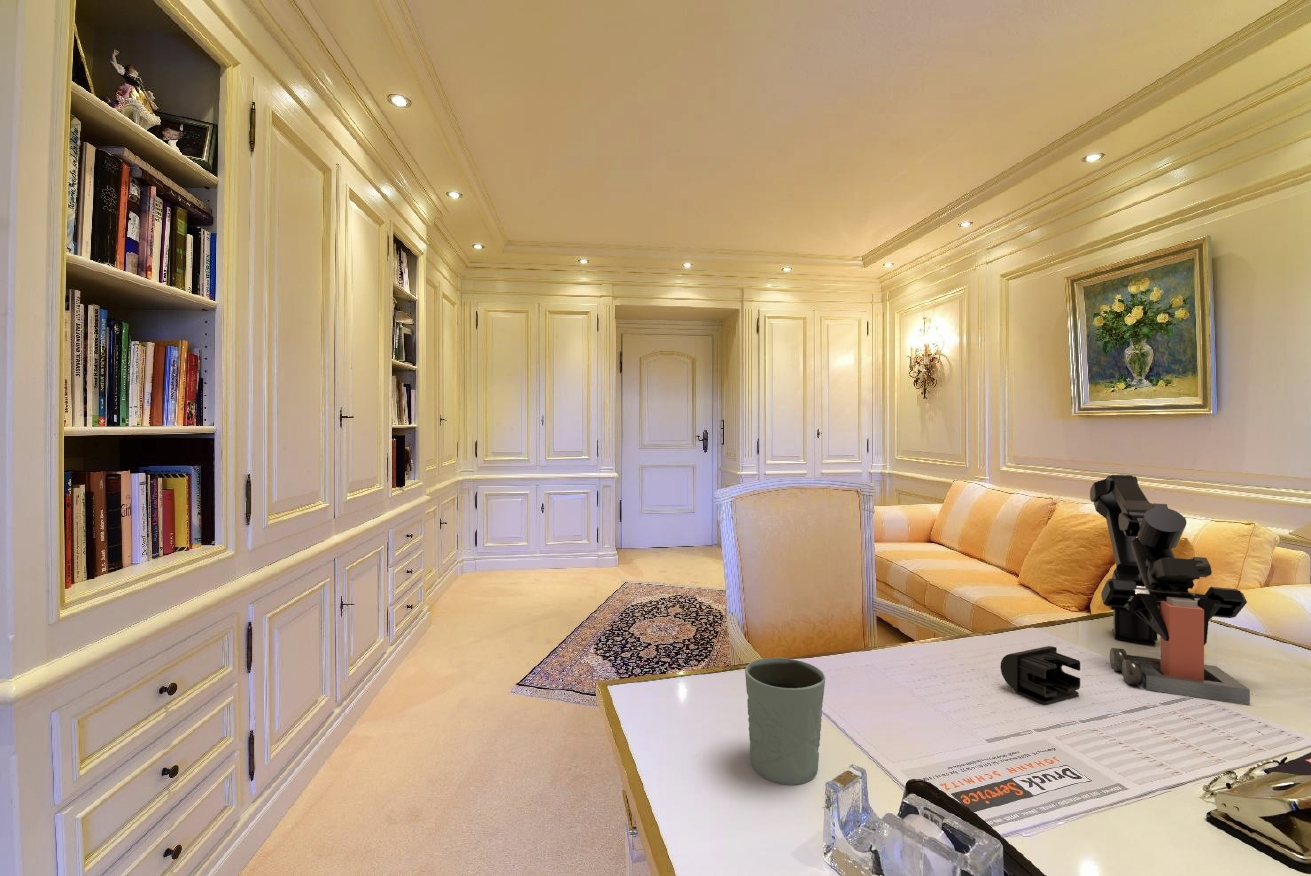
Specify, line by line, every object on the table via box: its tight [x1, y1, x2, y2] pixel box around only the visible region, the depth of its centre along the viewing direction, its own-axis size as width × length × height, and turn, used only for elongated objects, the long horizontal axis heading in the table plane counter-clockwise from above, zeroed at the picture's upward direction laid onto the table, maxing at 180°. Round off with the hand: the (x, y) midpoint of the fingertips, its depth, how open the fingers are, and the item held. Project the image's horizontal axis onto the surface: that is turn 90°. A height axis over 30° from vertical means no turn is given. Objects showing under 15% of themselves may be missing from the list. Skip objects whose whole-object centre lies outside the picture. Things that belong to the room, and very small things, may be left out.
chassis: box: [1109, 647, 1251, 706], centre depth 95 cm, size 10×15×4 cm, turn 66°
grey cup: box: [744, 657, 826, 786], centre depth 71 cm, size 10×10×12 cm
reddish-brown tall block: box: [1160, 597, 1205, 680], centre depth 95 cm, size 4×4×14 cm
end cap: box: [999, 645, 1081, 706], centre depth 92 cm, size 10×7×7 cm
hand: (1185, 641), depth 94 cm, fingers closed on reddish-brown tall block, 4 cm apart
